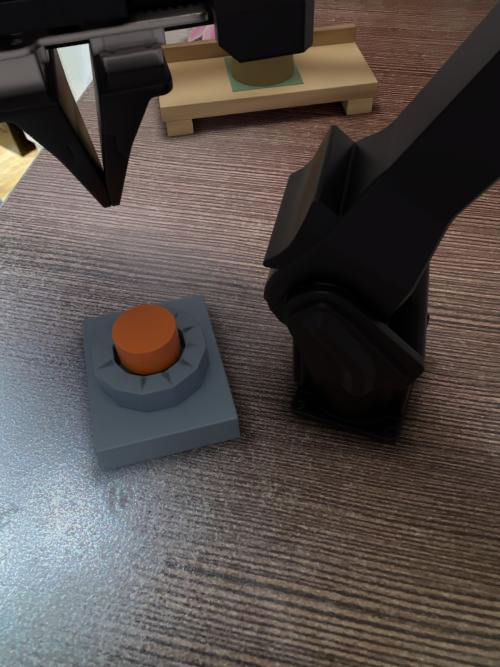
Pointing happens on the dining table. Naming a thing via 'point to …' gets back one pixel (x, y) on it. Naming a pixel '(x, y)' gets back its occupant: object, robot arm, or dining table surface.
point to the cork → (263, 71)
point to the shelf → (234, 97)
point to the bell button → (146, 339)
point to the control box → (158, 392)
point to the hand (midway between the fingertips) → (111, 201)
